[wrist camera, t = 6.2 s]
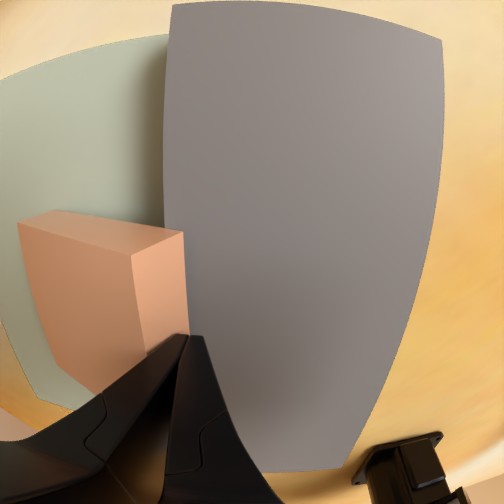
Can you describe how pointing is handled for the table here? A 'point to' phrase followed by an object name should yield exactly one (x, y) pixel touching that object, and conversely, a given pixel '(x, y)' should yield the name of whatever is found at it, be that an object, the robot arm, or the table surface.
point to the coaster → (104, 291)
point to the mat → (76, 171)
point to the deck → (300, 209)
